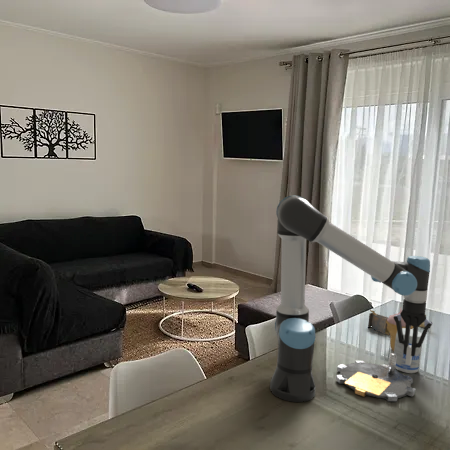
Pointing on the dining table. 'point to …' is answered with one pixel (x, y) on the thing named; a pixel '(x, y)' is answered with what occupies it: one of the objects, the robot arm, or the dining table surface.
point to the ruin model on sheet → (378, 322)
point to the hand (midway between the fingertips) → (408, 363)
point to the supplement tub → (402, 357)
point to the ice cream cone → (394, 328)
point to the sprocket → (376, 379)
